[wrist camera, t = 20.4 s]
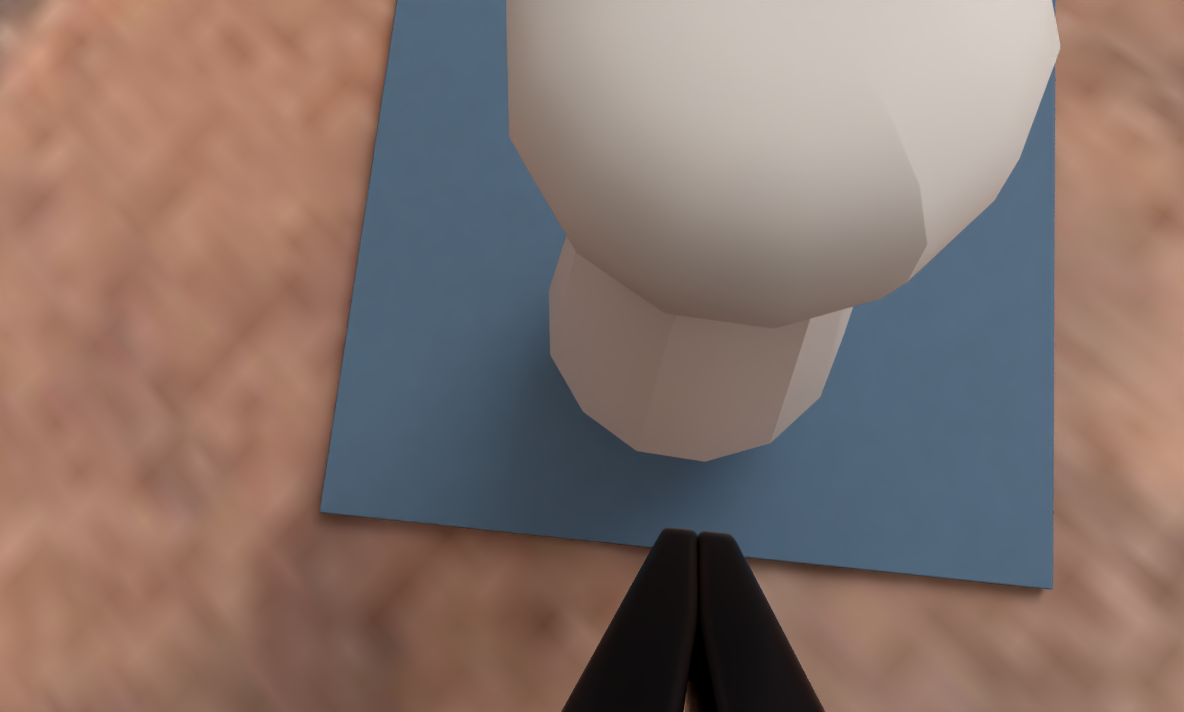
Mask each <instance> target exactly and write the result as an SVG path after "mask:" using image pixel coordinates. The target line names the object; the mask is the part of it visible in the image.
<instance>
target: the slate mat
mask: <svg viewBox="0 0 1184 712" xmlns="http://www.w3.org/2000/svg"><path fill="white" fill-rule="evenodd" d="M1052 3H1053V9H1054V14H1055V0H1052ZM1054 215H1055V64H1054V67H1053V70H1052V72H1051V75H1050V78H1049V80H1048V83H1047V86H1046V88H1045V91H1044V94H1043V96H1042V99H1041V102H1040V105H1039V107H1038V110H1037V113H1036V115H1035V118H1034V121H1033V123H1032V126H1031V129H1030V132H1029V134H1028V137H1027V140H1026V142H1025V145H1024V148H1023V150H1022V153H1021V156H1020V159H1019V160H1018V162H1017V164H1016V165H1015V167H1014V169H1013V170H1012V172H1011V174H1010V175H1009V177H1008V179H1007V180H1006V182H1005V184H1004V185H1003V187H1002V189H1001V190H1000V192H999V194H998V195H997V197H996V199H995V200H994V201H993V202H992V203H991V204H990V205H989V206H988V207H987V208H986V209H985V210H984V211H983V212H982V213H981V214H980V215H978V216H977V217H976V218H975V219H974V220H973V221H972V222H971V223H970V224H969V225H968V226H967V227H966V228H965V229H963V230H962V231H961V232H960V233H959V234H958V235H957V236H956V237H955V238H954V239H953V240H952V241H951V242H950V243H949V244H947V245H946V246H945V247H944V248H943V249H942V250H941V251H940V252H939V253H938V254H937V255H936V256H935V257H934V258H932V259H931V260H930V261H929V262H928V263H927V264H926V265H925V266H924V267H923V268H922V269H921V270H920V271H919V272H918V273H916V274H915V275H914V276H913V277H912V278H911V279H910V280H909V281H908V282H907V283H905V284H904V285H902V286H901V287H899V288H897V289H896V290H894V291H893V292H891V293H890V294H888V295H886V296H885V297H883V298H882V299H879V300H875V301H872V302H868V303H864V304H861V305H857V306H854V307H853V309H852V312H851V315H850V318H849V321H848V324H847V327H846V330H845V333H844V336H843V338H842V341H841V344H840V346H839V349H838V351H837V354H836V357H835V359H834V362H833V365H832V367H831V370H830V372H829V375H828V378H827V380H826V383H825V386H824V388H823V391H822V394H821V396H820V398H819V399H818V400H817V401H816V402H814V403H813V404H812V405H811V406H810V407H809V408H808V409H807V410H806V411H805V412H804V413H803V414H801V415H800V416H799V417H798V418H797V419H796V420H795V421H794V422H793V423H792V424H791V425H790V426H788V427H787V428H786V429H785V430H784V431H783V432H782V433H781V434H780V435H779V436H778V437H777V438H776V439H774V440H773V441H772V442H771V443H770V444H766V445H763V446H759V447H756V448H752V449H748V450H745V451H741V452H738V453H734V454H731V455H727V456H724V457H720V458H716V459H713V460H709V461H706V462H704V461H697V460H691V459H684V458H678V457H672V456H665V455H659V454H652V453H646V452H640V451H636V450H635V449H633V448H632V447H630V446H629V445H628V444H626V443H625V442H624V441H622V440H621V439H620V438H618V437H617V436H615V435H614V434H613V433H611V432H610V431H609V430H607V429H606V428H605V427H603V426H602V425H601V424H599V423H598V422H596V421H595V420H594V419H592V418H591V417H590V416H588V415H587V414H586V413H584V412H583V411H582V409H581V407H580V406H579V404H578V402H577V400H576V399H575V397H574V395H573V393H572V392H571V390H570V388H569V387H568V385H567V383H566V381H565V380H564V378H563V376H562V374H561V373H560V371H559V369H558V367H557V366H556V364H555V362H554V361H553V359H552V357H551V355H550V327H549V289H550V285H551V282H552V279H553V276H554V273H555V270H556V266H557V263H558V260H559V257H560V254H561V251H562V248H563V244H564V241H565V238H566V234H565V232H564V231H563V229H562V227H561V225H560V224H559V222H558V220H557V219H556V217H555V215H554V214H553V212H552V210H551V208H550V207H549V205H548V203H547V202H546V200H545V198H544V197H543V195H542V193H541V191H540V190H539V188H538V186H537V185H536V183H535V181H534V180H533V178H532V176H531V174H530V173H529V171H528V169H527V168H526V166H525V164H524V162H523V161H522V159H521V157H520V155H519V153H518V152H517V150H516V148H515V146H514V144H513V143H512V141H511V139H510V137H509V109H508V69H507V28H506V0H397V3H396V10H395V16H394V23H393V29H392V36H391V43H390V49H389V56H388V62H387V69H386V76H385V82H384V89H383V95H382V102H381V109H380V115H379V122H378V128H377V135H376V142H375V148H374V155H373V162H372V168H371V175H370V181H369V188H368V195H367V201H366V208H365V214H364V221H363V228H362V234H361V241H360V247H359V254H358V261H357V267H356V274H355V280H354V287H353V294H352V300H351V307H350V314H349V320H348V327H347V333H346V340H345V347H344V353H343V360H342V366H341V373H340V380H339V386H338V393H337V399H336V406H335V413H334V419H333V426H332V432H331V439H330V446H329V452H328V459H327V465H326V472H325V479H324V485H323V492H322V499H321V505H320V512H321V513H330V514H340V515H349V516H358V517H368V518H377V519H387V520H396V521H406V522H415V523H425V524H434V525H444V526H453V527H463V528H472V529H482V530H491V531H501V532H510V533H520V534H529V535H539V536H548V537H558V538H567V539H577V540H586V541H596V542H605V543H615V544H624V545H634V546H643V547H653V545H654V543H655V542H656V540H657V538H658V536H659V534H660V533H661V531H662V530H663V529H664V528H668V527H670V528H679V529H689V530H694V531H695V532H696V534H697V536H698V534H699V533H700V532H702V531H709V532H718V533H727V534H730V535H732V536H733V537H734V538H735V540H736V542H737V544H738V545H739V547H740V549H741V551H742V553H743V555H744V557H748V558H757V559H767V560H776V561H786V562H795V563H804V564H814V565H823V566H833V567H842V568H852V569H861V570H871V571H880V572H890V573H899V574H909V575H918V576H928V577H937V578H947V579H956V580H966V581H975V582H985V583H994V584H1004V585H1013V586H1023V587H1032V588H1042V589H1053V458H1054Z"/></svg>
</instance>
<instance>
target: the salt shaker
mask: <svg viewBox="0 0 1184 712" xmlns="http://www.w3.org/2000/svg"><path fill="white" fill-rule="evenodd" d="M506 28H507V69H508V109H509V137H510V139H511V141H512V143H513V144H514V146H515V148H516V150H517V152H518V153H519V155H520V157H521V159H522V161H523V162H524V164H525V166H526V168H527V169H528V171H529V173H530V174H531V176H532V178H533V180H534V181H535V183H536V185H537V186H538V188H539V190H540V191H541V193H542V195H543V197H544V198H545V200H546V202H547V203H548V205H549V207H550V208H551V210H552V212H553V214H554V215H555V217H556V219H557V220H558V222H559V224H560V225H561V227H562V229H563V231H564V232H565V234H566V238H565V241H564V244H563V248H562V251H561V254H560V257H559V260H558V263H557V266H556V270H555V273H554V276H553V279H552V282H551V285H550V289H549V327H550V355H551V357H552V359H553V361H554V362H555V364H556V366H557V367H558V369H559V371H560V373H561V374H562V376H563V378H564V380H565V381H566V383H567V385H568V387H569V388H570V390H571V392H572V393H573V395H574V397H575V399H576V400H577V402H578V404H579V406H580V407H581V409H582V411H583V412H584V413H586V414H587V415H588V416H590V417H591V418H592V419H594V420H595V421H596V422H598V423H599V424H601V425H602V426H603V427H605V428H606V429H607V430H609V431H610V432H611V433H613V434H614V435H615V436H617V437H618V438H620V439H621V440H622V441H624V442H625V443H626V444H628V445H629V446H630V447H632V448H633V449H635V450H636V451H640V452H646V453H652V454H659V455H665V456H672V457H678V458H684V459H691V460H697V461H704V462H706V461H709V460H713V459H716V458H720V457H724V456H727V455H731V454H734V453H738V452H741V451H745V450H748V449H752V448H756V447H759V446H763V445H766V444H770V443H771V442H772V441H773V440H774V439H776V438H777V437H778V436H779V435H780V434H781V433H782V432H783V431H784V430H785V429H786V428H787V427H788V426H790V425H791V424H792V423H793V422H794V421H795V420H796V419H797V418H798V417H799V416H800V415H801V414H803V413H804V412H805V411H806V410H807V409H808V408H809V407H810V406H811V405H812V404H813V403H814V402H816V401H817V400H818V399H819V398H820V396H821V394H822V391H823V388H824V386H825V383H826V380H827V378H828V375H829V372H830V370H831V367H832V365H833V362H834V359H835V357H836V354H837V351H838V349H839V346H840V344H841V341H842V338H843V336H844V333H845V330H846V327H847V324H848V321H849V318H850V315H851V312H852V309H853V307H854V306H857V305H861V304H864V303H868V302H872V301H875V300H879V299H882V298H883V297H885V296H886V295H888V294H890V293H891V292H893V291H894V290H896V289H897V288H899V287H901V286H902V285H904V284H905V283H907V282H908V281H909V280H910V279H911V278H912V277H913V276H914V275H915V274H916V273H918V272H919V271H920V270H921V269H922V268H923V267H924V266H925V265H926V264H927V263H928V262H929V261H930V260H931V259H932V258H934V257H935V256H936V255H937V254H938V253H939V252H940V251H941V250H942V249H943V248H944V247H945V246H946V245H947V244H949V243H950V242H951V241H952V240H953V239H954V238H955V237H956V236H957V235H958V234H959V233H960V232H961V231H962V230H963V229H965V228H966V227H967V226H968V225H969V224H970V223H971V222H972V221H973V220H974V219H975V218H976V217H977V216H978V215H980V214H981V213H982V212H983V211H984V210H985V209H986V208H987V207H988V206H989V205H990V204H991V203H992V202H993V201H994V200H995V199H996V197H997V195H998V194H999V192H1000V190H1001V189H1002V187H1003V185H1004V184H1005V182H1006V180H1007V179H1008V177H1009V175H1010V174H1011V172H1012V170H1013V169H1014V167H1015V165H1016V164H1017V162H1018V160H1019V159H1020V156H1021V153H1022V150H1023V148H1024V145H1025V142H1026V140H1027V137H1028V134H1029V132H1030V129H1031V126H1032V123H1033V121H1034V118H1035V115H1036V113H1037V110H1038V107H1039V105H1040V102H1041V99H1042V96H1043V94H1044V91H1045V88H1046V86H1047V83H1048V80H1049V78H1050V75H1051V72H1052V70H1053V67H1054V64H1055V61H1056V59H1057V56H1058V53H1059V51H1060V48H1061V47H1060V42H1059V36H1058V31H1057V25H1056V20H1055V14H1054V9H1053V3H1052V0H506Z"/></svg>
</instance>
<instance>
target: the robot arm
mask: <svg viewBox="0 0 1184 712" xmlns="http://www.w3.org/2000/svg"><path fill="white" fill-rule="evenodd" d="M684 705H685V712H825V711H824V709H823V707H822V705H821V703H820V701H819V699H818V697H817V695H816V693H815V692H814V690H813V688H812V686H811V684H810V682H809V680H808V678H807V676H806V674H805V672H804V670H803V668H802V667H801V665H800V663H799V661H798V659H797V657H796V655H795V653H794V651H793V649H792V647H791V645H790V644H789V642H788V640H787V638H786V636H785V634H784V632H783V630H782V628H781V626H780V624H779V622H778V620H777V619H776V617H775V615H774V613H773V611H772V609H771V607H770V605H769V603H768V601H767V599H766V597H765V595H764V594H763V592H762V590H761V588H760V586H759V584H758V582H757V580H756V578H755V576H754V574H753V572H752V570H751V569H750V567H749V565H748V563H747V561H746V559H745V557H744V555H743V553H742V551H741V549H740V547H739V545H738V544H737V542H736V540H735V538H734V537H733V536H732V535H730V534H727V533H718V532H709V531H702V532H700V533H699V534H698V536H697V534H696V532H695V531H694V530H689V529H679V528H670V527H668V528H664V529H663V530H662V531H661V533H660V534H659V536H658V538H657V540H656V542H655V543H654V545H653V547H652V549H651V551H650V552H649V554H648V556H647V558H646V560H645V561H644V563H643V565H642V567H641V569H640V570H639V572H638V574H637V576H636V578H635V580H634V581H633V583H632V585H631V587H630V589H629V590H628V592H627V594H626V596H625V598H624V599H623V601H622V603H621V605H620V607H619V608H618V610H617V612H616V614H615V616H614V618H613V619H612V621H611V623H610V625H609V627H608V628H607V630H606V632H605V634H604V636H603V637H602V639H601V641H600V643H599V645H598V646H597V648H596V650H595V652H594V654H593V655H592V657H591V659H590V661H589V663H588V665H587V666H586V668H585V670H584V672H583V674H582V675H581V677H580V679H579V681H578V683H577V684H576V686H575V688H574V690H573V692H572V693H571V695H570V697H569V699H568V701H567V702H566V704H565V706H564V708H563V710H562V712H683V711H684Z"/></svg>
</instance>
